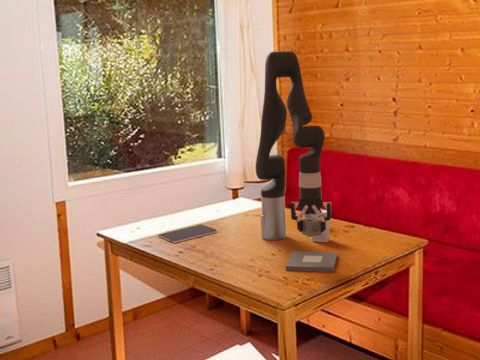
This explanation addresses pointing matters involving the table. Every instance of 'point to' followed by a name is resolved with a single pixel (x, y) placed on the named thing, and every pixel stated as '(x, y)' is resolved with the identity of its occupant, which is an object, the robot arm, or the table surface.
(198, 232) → the notebook
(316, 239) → the skincare box
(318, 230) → the dice cube
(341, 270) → the table surface
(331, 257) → the plate
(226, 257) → the table surface
